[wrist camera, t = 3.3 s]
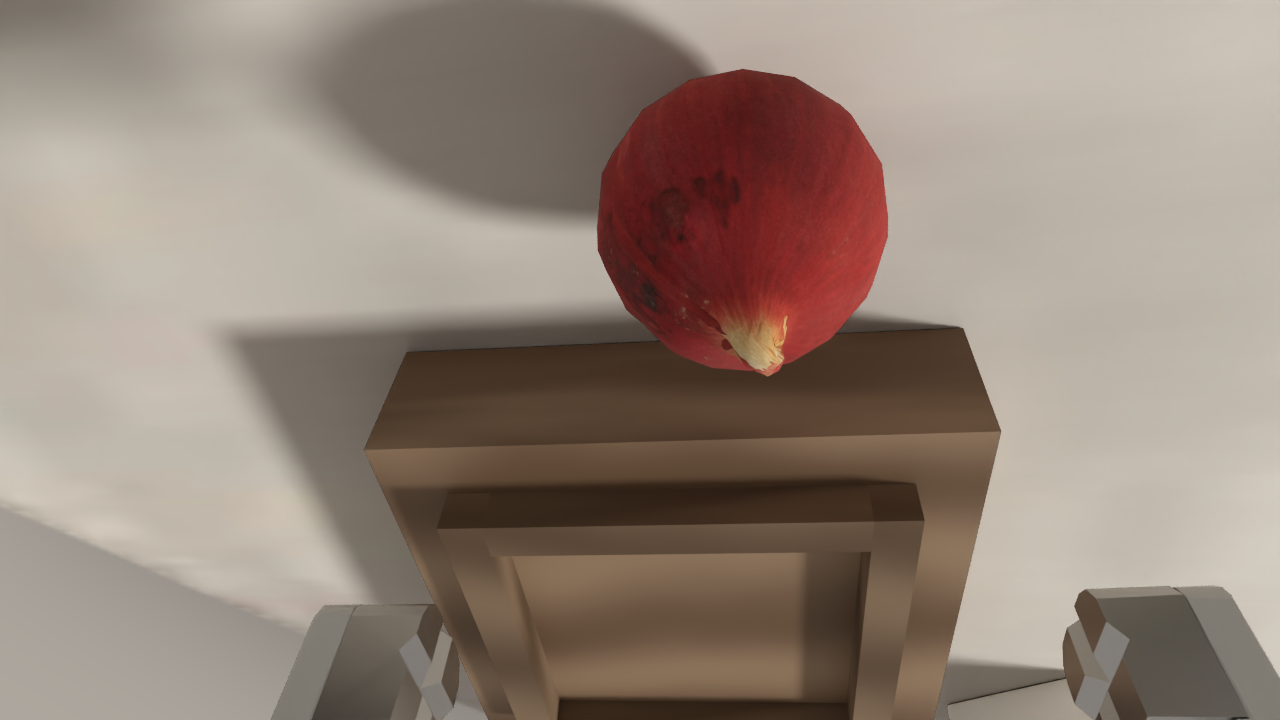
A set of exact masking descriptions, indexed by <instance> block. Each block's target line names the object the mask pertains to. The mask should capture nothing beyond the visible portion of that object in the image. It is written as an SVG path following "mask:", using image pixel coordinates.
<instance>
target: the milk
mask: <svg viewBox="0 0 1280 720" xmlns="http://www.w3.org/2000/svg"><path fill="white" fill-rule="evenodd" d="M947 710H948V715H949V720H1092V719H1091V718H1090V717H1089V716H1088V715H1087V714H1085V713H1084V712H1083V711H1082V710H1081V709H1080V708H1079V707H1078V706H1076V705H1075V704H1074V701H1073V698H1072V695H1071V692H1070V689H1069V687H1068V684H1067V679H1062V680H1057V681H1053V682H1048V683H1044V684H1039V685H1035V686H1030V687H1026V688H1021V689H1017V690H1013V691H1008V692H1004V693H999V694H995V695H990V696H986V697H981V698H977V699H972V700H968V701H964V702H959V703H955V704H950V705H948V706H947Z"/></svg>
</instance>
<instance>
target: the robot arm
mask: <svg viewBox="0 0 1280 720" xmlns="http://www.w3.org/2000/svg"><path fill="white" fill-rule="evenodd" d="M1074 607H1075V609H1076V612H1077V614H1078V617H1079V619H1080V620H1078V621H1077V622H1075V623H1074V624H1072V625H1071V626H1069V627H1068V628H1067V630H1066V634H1065V637H1064V641H1063V666H1064V671H1065V675H1066V679H1067V684H1068V687H1069V689H1070V692H1071V695H1072V698H1073V701H1074V704H1075V705H1076V706H1078V707H1079V708H1080V709H1081V710H1082V711H1083V712H1084V713H1085V714H1087V715H1088V716H1089V717H1090V718H1091V719H1092V720H1280V677H1279V675H1278V673H1277V672H1276V670H1275V668H1274V667H1273V665H1272V663H1271V661H1270V660H1269V658H1268V656H1267V655H1266V653H1265V651H1264V650H1263V648H1262V646H1261V645H1260V643H1259V641H1258V639H1257V638H1256V636H1255V634H1254V633H1253V631H1252V629H1251V628H1250V626H1249V624H1248V623H1247V621H1246V619H1245V617H1244V616H1243V614H1242V612H1241V611H1240V609H1239V607H1238V606H1237V604H1236V602H1235V600H1234V599H1233V597H1232V595H1231V594H1229V593H1228V592H1227V591H1226V590H1225V589H1223V588H1222V587H1218V586H1191V587H1170V586H1156V587H1129V588H1103V589H1085V590H1084V591H1082V592H1081V593H1079V595H1078V598H1077V601H1076V603H1075V606H1074ZM442 623H443V617H442V615H441V613H440V611H439V609H438V607H437V605H436V604H416V605H325V606H323V607H322V608H321V610H320V611H319V612H318V613H317V614H316V616H315V617H314V618H313V620H312V623H311V625H310V628H309V630H308V632H307V635H306V637H305V640H304V642H303V644H302V647H301V649H300V651H299V654H298V656H297V658H296V661H295V663H294V665H293V668H292V670H291V673H290V675H289V677H288V680H287V682H286V685H285V687H284V690H283V692H282V694H281V697H280V699H279V701H278V704H277V706H276V708H275V710H274V713H273V715H272V718H271V720H442V719H443V718H444V717H445V716H446V715H447V714H448V713H449V712H450V711H451V710H452V709H453V708H454V703H455V699H456V694H457V690H458V683H459V658H458V652H457V648H456V645H455V643H454V641H453V638H452V637H450V636H448V635H447V634H445V633H444V632H442V631H440V630H441V626H442Z"/></svg>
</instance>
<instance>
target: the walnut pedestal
mask: <svg viewBox="0 0 1280 720" xmlns="http://www.w3.org/2000/svg"><path fill="white" fill-rule="evenodd" d="M1000 434H1001V430H1000V427H999V424H998V421H997V419H996V416H995V413H994V411H993V408H992V405H991V402H990V400H989V397H988V394H987V392H986V389H985V386H984V383H983V381H982V378H981V375H980V373H979V370H978V367H977V364H976V362H975V359H974V356H973V354H972V351H971V348H970V345H969V343H968V340H967V337H966V335H965V332H964V329H963V328H956V329H933V330H910V331H888V332H865V333H842V334H835V335H834V336H833V337H832V338H831V339H830V340H828V341H826V342H825V343H823V344H821V345H820V346H818V347H816V348H815V349H813V350H811V351H810V352H808V353H806V354H805V355H803V356H801V357H800V358H798V359H796V360H795V361H793V362H791V363H787V364H782V366H781V368H780V370H779V371H777V372H776V373H774V374H772V375H770V376H765V375H763V374H760V373H758V372H756V371H754V370H752V371H748V370H733V369H718V368H711V367H708V366H705V365H703V364H700V363H698V362H695V361H692V360H690V359H687V358H684V357H682V356H679V355H677V354H675V353H674V352H672V351H671V350H670V349H668V348H667V347H666V346H665V345H664V344H663V343H662V342H661V341H659V342H636V343H613V344H590V345H567V346H545V347H522V348H499V349H476V350H453V351H430V352H407V353H406V355H405V357H404V359H403V362H402V364H401V366H400V368H399V371H398V373H397V375H396V378H395V380H394V382H393V384H392V387H391V389H390V391H389V394H388V396H387V398H386V400H385V403H384V405H383V407H382V410H381V412H380V414H379V416H378V419H377V421H376V423H375V426H374V428H373V430H372V432H371V435H370V437H369V439H368V442H367V444H366V446H365V448H364V452H365V454H366V456H367V458H368V460H369V462H370V465H371V467H372V469H373V471H374V473H375V475H376V478H377V480H378V482H379V484H380V486H381V488H382V491H383V493H384V495H385V497H386V499H387V501H388V504H389V506H390V508H391V510H392V512H393V514H394V516H395V519H396V521H397V523H398V525H399V527H400V529H401V532H402V534H403V536H404V538H405V540H406V542H407V545H408V547H409V549H410V551H411V553H412V555H413V558H414V560H415V562H416V564H417V566H418V568H419V571H420V573H421V575H422V577H423V579H424V581H425V584H426V586H427V588H428V590H429V592H430V594H431V597H432V599H433V601H434V603H435V604H436V605H437V607H438V609H439V611H440V613H441V615H442V617H443V623H444V625H445V627H446V629H447V631H448V633H449V636H450V637H452V638H453V641H454V643H455V645H456V648H457V652H458V655H459V657H460V659H461V661H462V664H463V666H464V668H465V670H466V672H467V674H468V677H469V679H470V681H471V683H472V685H473V687H474V690H475V692H476V694H477V696H478V698H479V700H480V703H481V705H482V707H483V709H484V711H485V713H486V716H487V718H488V720H934V716H935V712H936V707H937V703H938V699H939V695H940V690H941V686H942V682H943V678H944V673H945V669H946V665H947V660H948V656H949V652H950V648H951V643H952V639H953V635H954V631H955V626H956V622H957V618H958V614H959V609H960V605H961V601H962V597H963V592H964V588H965V584H966V579H967V575H968V571H969V567H970V562H971V558H972V554H973V550H974V545H975V541H976V537H977V533H978V528H979V524H980V520H981V516H982V511H983V507H984V503H985V498H986V494H987V490H988V486H989V481H990V477H991V473H992V469H993V464H994V460H995V456H996V452H997V447H998V443H999V439H1000Z"/></svg>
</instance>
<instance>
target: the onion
mask: <svg viewBox="0 0 1280 720" xmlns="http://www.w3.org/2000/svg"><path fill="white" fill-rule="evenodd" d="M597 237H598V252H599V254H600V256H601V259H602V261H603V264H604V266H605V268H606V271H607V273H608V275H609V277H610V278H611V280H612V282H613V284H614V286H615V288H616V290H617V292H618V294H619V296H620V298H621V300H622V302H623V304H624V306H625V308H626V310H627V311H629V312H630V313H631V314H632V315H633V316H634V317H636V318H637V319H638V320H639V321H640V322H641V323H643V324H644V325H645V326H646V327H647V328H648V329H649V330H650V331H651V332H652V333H653V334H654V335H655V336H656V337H657V338H658V339H659V340H660V341H661V342H662V343H663V344H664V345H665V346H666V347H667V348H668V349H670V350H671V351H672V352H674V353H675V354H677V355H679V356H682V357H684V358H687V359H690V360H692V361H695V362H698V363H700V364H703V365H705V366H708V367H711V368H718V369H733V370H748V371H752V370H754V371H756V372H758V373H760V374H763V375H765V376H770V375H772V374H774V373H776V372H777V371H779V370H780V368H781V366H782V364H787V363H791V362H793V361H795V360H796V359H798V358H800V357H801V356H803V355H805V354H806V353H808V352H810V351H811V350H813V349H815V348H816V347H818V346H820V345H821V344H823V343H825V342H826V341H828V340H830V339H831V338H832V337H833V336H834V335H835V334H836V332H837V331H838V330H839V329H840V328H841V327H842V325H843V324H844V323H845V322H846V321H847V320H848V318H849V317H850V316H851V315H852V314H853V313H854V311H855V310H856V309H857V308H858V307H859V306H860V304H861V303H862V302H863V301H864V300H865V299H866V297H867V295H868V293H869V291H870V288H871V286H872V284H873V281H874V278H875V275H876V272H877V269H878V266H879V262H880V259H881V256H882V253H883V250H884V247H885V244H886V240H887V237H888V213H887V205H886V196H885V187H884V179H883V170H882V163H881V162H880V160H879V159H878V157H877V155H876V154H875V152H874V150H873V149H872V147H871V146H870V144H869V142H868V141H867V139H866V138H865V136H864V134H863V133H862V131H861V130H860V128H859V126H858V125H857V123H856V122H855V120H854V118H853V117H852V115H851V114H850V113H849V112H848V111H847V110H845V109H844V108H843V107H842V106H841V105H840V104H838V103H836V102H835V101H833V100H832V99H830V98H828V97H827V96H825V95H823V94H822V93H820V92H818V91H817V90H815V89H813V88H812V87H810V86H809V85H807V84H805V83H804V82H802V81H800V80H799V79H797V78H795V77H791V76H784V75H778V74H771V73H765V72H758V71H752V70H746V69H740V70H736V71H731V72H726V73H721V74H716V75H711V76H706V77H702V78H697V79H692V80H689V81H687V82H686V83H684V84H683V85H681V86H679V87H678V88H676V89H675V90H673V91H672V92H670V93H668V94H667V95H665V96H664V97H662V98H661V99H659V100H657V101H656V102H654V103H653V104H651V105H650V106H648V107H646V108H645V109H643V110H642V112H641V113H640V114H639V116H638V117H637V119H636V120H635V122H634V123H633V125H632V126H631V127H630V129H629V130H628V132H627V133H626V135H625V136H624V138H623V139H622V140H621V142H620V143H619V145H618V146H617V148H616V149H615V151H614V152H613V153H612V155H611V157H610V159H609V161H608V163H607V165H606V167H605V169H604V171H603V173H602V180H601V191H600V202H599V213H598V224H597Z"/></svg>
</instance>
